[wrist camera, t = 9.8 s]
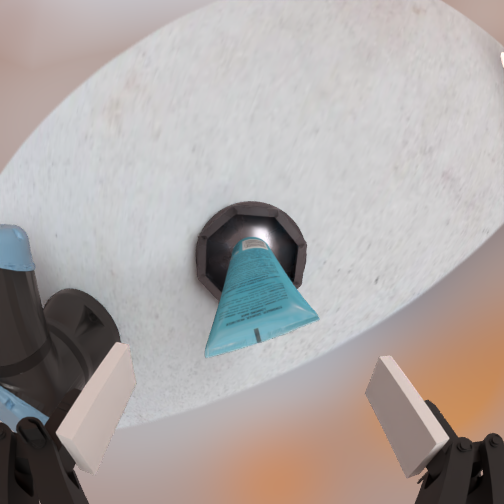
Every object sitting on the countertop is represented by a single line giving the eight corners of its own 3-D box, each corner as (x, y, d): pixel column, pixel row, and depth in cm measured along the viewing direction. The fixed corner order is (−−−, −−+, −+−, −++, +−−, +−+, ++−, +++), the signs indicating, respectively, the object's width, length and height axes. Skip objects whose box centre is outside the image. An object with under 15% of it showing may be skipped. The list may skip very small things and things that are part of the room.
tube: (234, 283, 35) (224, 385, 17) (216, 251, 34) (185, 330, 16) (287, 259, 35) (329, 342, 16) (271, 224, 34) (301, 278, 15)
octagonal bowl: (195, 301, 37) (193, 308, 35) (199, 197, 33) (196, 198, 31) (297, 308, 37) (300, 315, 35) (311, 206, 34) (315, 208, 32)
